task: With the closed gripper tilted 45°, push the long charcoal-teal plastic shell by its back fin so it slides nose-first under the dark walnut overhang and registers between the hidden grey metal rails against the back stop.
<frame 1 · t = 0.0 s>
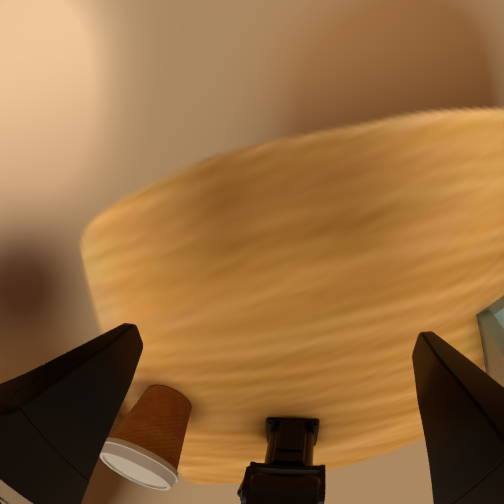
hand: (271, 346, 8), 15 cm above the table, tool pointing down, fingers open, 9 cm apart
disposable coffee cup: (169, 399, 34), on the table
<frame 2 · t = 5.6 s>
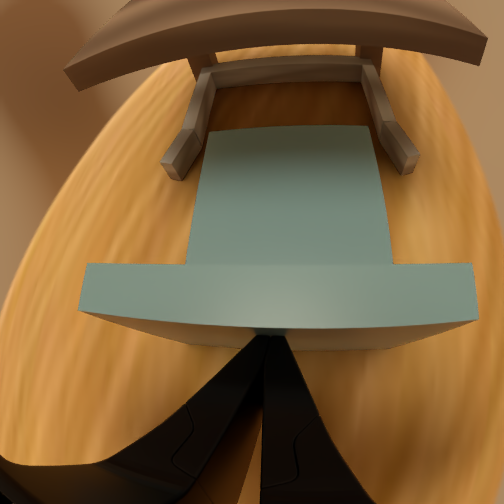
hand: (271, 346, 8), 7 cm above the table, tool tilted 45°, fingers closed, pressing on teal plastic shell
walnut overhang shelf: (289, 113, 21), on the table
teal plastic shell: (289, 227, 17), on the table, touching gripper
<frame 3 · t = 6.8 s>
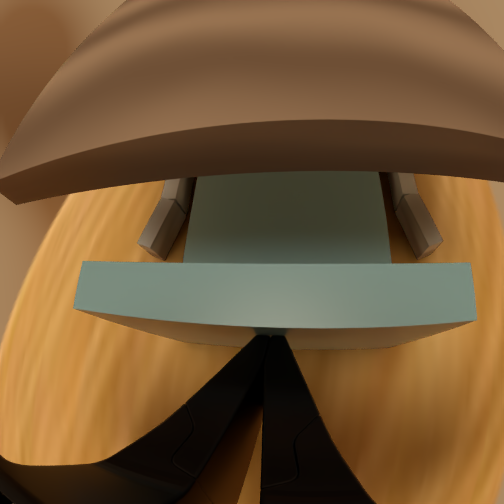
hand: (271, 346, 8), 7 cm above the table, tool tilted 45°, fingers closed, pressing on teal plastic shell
walnut overhang shelf: (289, 170, 19), on the table
teal plastic shell: (288, 226, 17), on the table, touching gripper
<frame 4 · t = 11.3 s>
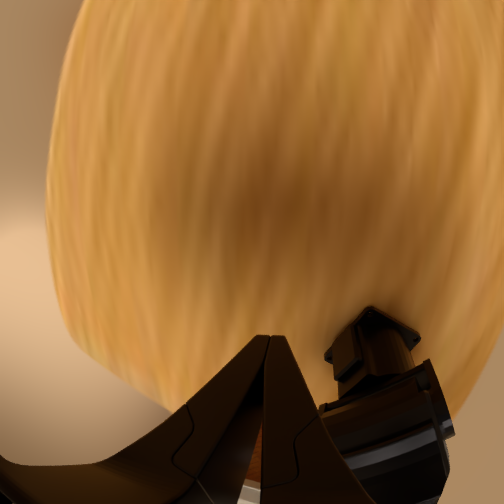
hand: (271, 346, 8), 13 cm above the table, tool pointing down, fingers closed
disposable coffee cup: (249, 414, 30), on the table
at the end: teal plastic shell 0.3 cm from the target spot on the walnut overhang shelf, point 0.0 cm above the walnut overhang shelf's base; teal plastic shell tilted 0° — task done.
